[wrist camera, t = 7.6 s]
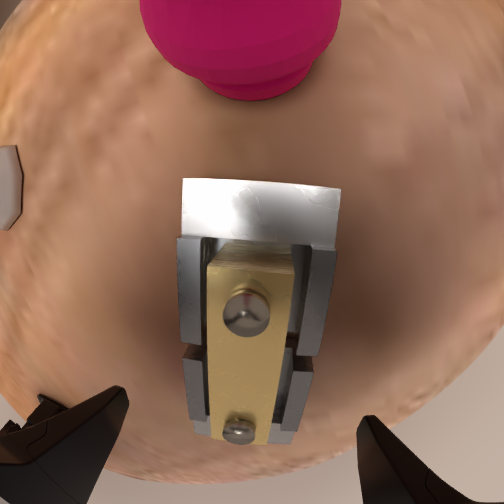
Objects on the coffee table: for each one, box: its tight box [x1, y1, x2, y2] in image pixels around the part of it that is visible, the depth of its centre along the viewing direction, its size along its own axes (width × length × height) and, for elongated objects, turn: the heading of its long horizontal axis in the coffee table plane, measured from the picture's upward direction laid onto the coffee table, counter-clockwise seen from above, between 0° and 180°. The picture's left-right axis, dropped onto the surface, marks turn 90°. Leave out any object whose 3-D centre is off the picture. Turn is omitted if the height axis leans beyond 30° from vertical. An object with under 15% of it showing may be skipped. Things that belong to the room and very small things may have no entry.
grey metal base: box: [177, 178, 341, 444], centre depth 13 cm, size 16×6×3 cm, turn 176°
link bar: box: [207, 243, 295, 445], centre depth 12 cm, size 10×3×4 cm, turn 176°
